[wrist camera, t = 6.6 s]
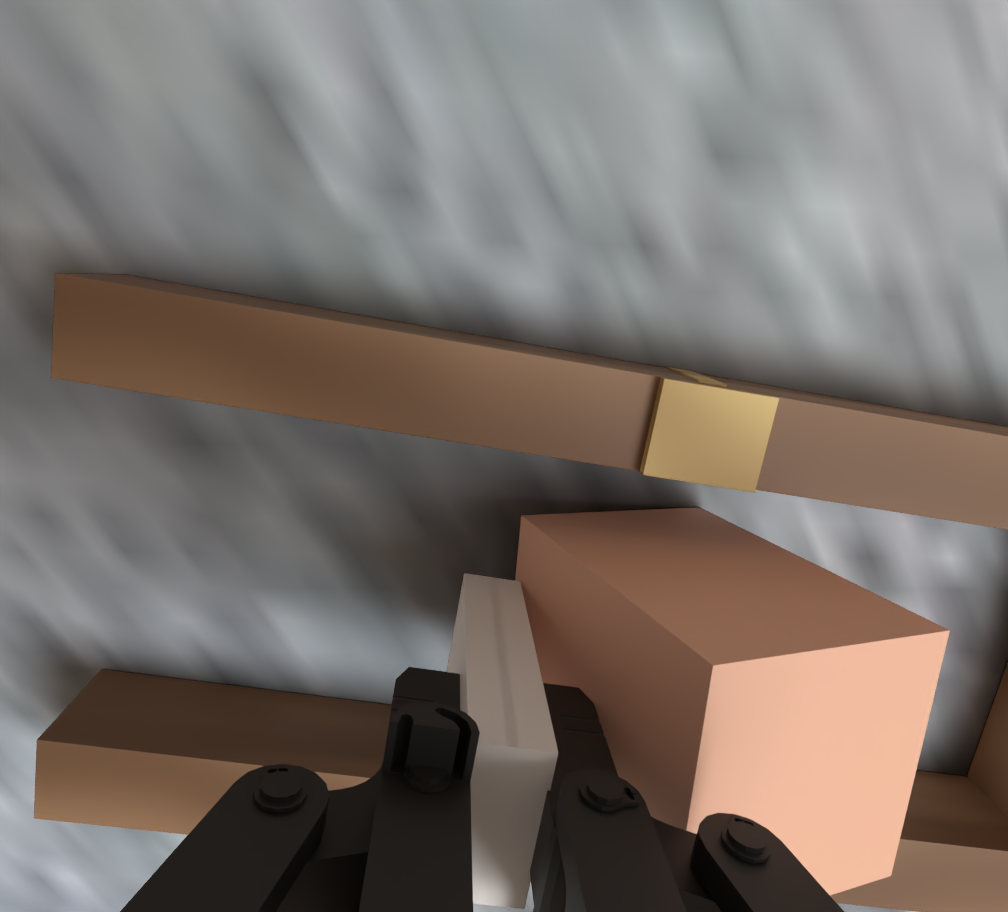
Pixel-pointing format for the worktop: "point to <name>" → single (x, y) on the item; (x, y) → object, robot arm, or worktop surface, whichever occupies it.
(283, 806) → the robot arm
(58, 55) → the worktop surface
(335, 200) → the worktop surface
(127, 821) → the slotted beam
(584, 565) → the block
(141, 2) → the worktop surface
